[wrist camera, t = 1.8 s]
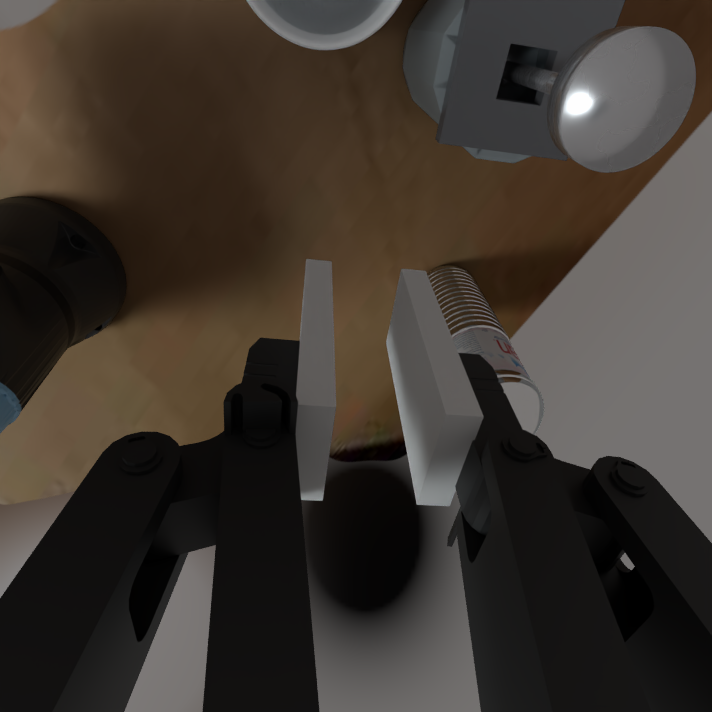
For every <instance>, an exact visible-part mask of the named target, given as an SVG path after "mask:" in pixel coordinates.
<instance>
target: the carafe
mask: <svg viewBox="0 0 712 712" xmlns="http://www.w3.org/2000/svg"><path fill="white" fill-rule="evenodd" d="M624 2H625V0H428V1H427V2H426V3H425V4H424V5H423V7H422V8H421V9H420V10H419V12H418V13H417V15H416V16H415V18H414V20H413V22H412V24H411V26H410V28H409V30H408V34H407V37H406V40H405V45H404V51H403V70H404V76H405V81H406V84H407V87H408V89H409V91H410V93H411V97H412V100H413V101H414V102H415V103H416V104H417V105H418V106H419V107H420V108H421V109H423V110H424V111H425V112H426V113H427V114H428V115H429V116H430V117H431V118H432V119H433V120H434V121H435V122H436V123H437V124H438V130H437V134H436V140H437V142H438V143H440V144H448V145H455V146H462V147H463V148H464V149H466V150H467V151H468V152H469V153H470V154H471V155H472V156H473V157H474V158H478V159H485V160H493V161H500V162H508V163H516V162H518V161H521V160H523V159H526V158H528V157H530V156H536V157H543V158H551V159H558V160H565V161H567V158H568V157H567V156H565V155H564V154H563V153H562V152H560V151H559V149H558V148H557V147H556V146H555V144H554V142H553V141H552V139H551V136H550V133H549V130H548V125H547V105H548V99H549V94H546V93H544V92H541V91H538V90H537V93H536V96H535V99H534V103H530V102H524V101H517V100H510V99H504V98H497V93H498V90H499V86H500V82H501V78H502V75H503V71H504V67H505V63H506V60H507V56H508V52H509V48H510V45H511V44H517V45H523V46H529V47H536V48H542V49H548V50H550V51H549V54H548V57H547V61H546V64H545V67H544V69H545V70H549V71H554V72H558V73H559V71H560V70H561V68H562V67H563V65H564V64H565V62H566V61H567V60H568V58H569V57H570V56H571V55H572V54H573V53H574V52H575V51H576V50H577V48H579V47H580V46H581V45H582V44H583V43H584V42H586V41H587V40H589V39H590V38H592V37H593V36H595V35H597V34H599V33H601V32H603V31H605V30H608V29H611V28H615V27H616V24H617V21H618V18H619V16H620V13H621V10H622V7H623V5H624Z"/></svg>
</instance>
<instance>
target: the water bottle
mask: <svg viewBox="0 0 712 712" xmlns="http://www.w3.org/2000/svg"><path fill="white" fill-rule="evenodd" d="M427 276H428V278H429V281H430V283H431V286H432V288H433V291H434V293H435V296H436V298H437V301H438V303H439V306H440V308H441V311H442V314H443V316H444V319H445V321H446V324H447V326H448V329H449V331H450V334H451V336H452V339H453V341H454V344H455V346H456V349H457V351H458V353H469V354H480V355H481V356H482V357H483V358H484V359H485V360H486V361H487V362H488V363H489V364H490V365H491V366H492V367H493V369H494V371H495V373H496V375H497V377H498V379H499V382H500V383H501V385H502V387H503V390H504V393H505V394H506V396H507V398H508V400H509V402H510V404H511V406H512V408H513V410H514V412H515V414H516V417H517V419H518V421H519V423H520V425H521V427H522V429H523V430H526V431H528V432H530V433H531V434H533V435H535V433H536V431H537V430H538V428H539V426H540V423H541V421H542V418H543V414H544V402H543V398H542V395H541V393H540V391H539V390H538V388H537V386H536V385H535V383H534V382H533V381H532V380H531V379H530V378H529V376H528V374H527V372H526V370H525V369H524V367H523V365H522V363H521V362H520V360H519V358H518V356H517V354H516V353H515V351H514V349H513V348H512V346H511V342H510V340H509V337H508V336H507V334H506V332H505V331H504V329H503V327H502V325H501V324H500V322H499V320H498V319H497V317H496V315H495V313H494V311H493V310H492V308H491V306H490V305H489V303H488V301H487V299H486V298H485V296H484V294H483V292H482V291H481V289H480V287H479V285H478V284H477V282H476V280H475V279H474V278H473V276H472V275H471V274H470V273H469V272H468V271H467V270H465V269H463V268H461V267H459V266H455V265H444V266H440V267H437V268H435V269H433V270H431V271H430V272H428V273H427Z"/></svg>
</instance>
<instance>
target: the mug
mask: <svg viewBox="0 0 712 712" xmlns="http://www.w3.org/2000/svg"><path fill="white" fill-rule="evenodd" d="M246 1H247V2H248V4H249V5H250V7H251V8H252V9H253V11H254V12H255V13H256V14H257V16H258V17H259V18H260V19H261V20H262V21H263V22H264V23H265V24H266V25H267V26H268V27H269V28H270V29H272V30H273V31H274V32H276V33H277V34H278V35H280V36H281V37H283V38H285V39H286V40H288V41H290V42H292V43H294V44H297V45H299V46H302V47H305V48H309V49H315V50H336V49H342V48H347V47H350V46H353V45H355V44H358V43H360V42H362V41H363V40H365V39H367V38H368V37H370V36H371V35H373V34H374V33H375V32H377V31H378V30H379V29H380V28H381V27H382V26H383V25H384V24H385V23H386V22H387V21H388V20H389V19H390V18H391V16H392V15H393V14H394V13H395V11H396V10H397V8H398V7H399V5H400V4H401V2H402V0H246Z"/></svg>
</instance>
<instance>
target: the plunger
mask: <svg viewBox="0 0 712 712" xmlns="http://www.w3.org/2000/svg"><path fill="white" fill-rule="evenodd" d="M549 51H550V50H548V49H542V48H536V47H529V46H523V45H517V44H511V45H510V48H509V52H508V56H507V60H506V63H505V67H504V71H503V75H502V78H501V82H500V86H499V90H498V93H497V98H504V99H510V100H517V101H524V102H530V103H534V99H535V96H536V93H537V90H538V91H541V92H544V93H546V94H549V99H548V105H547V125H548V130H549V133H550V136H551V139H552V141H553V142H554V144H555V146H556V147H557V148H558V149H559V151H560V152H562V153H563V154H564V155H565V156H567V157H569V158H570V159H572V160H574V161H575V162H577V163H579V164H581V165H582V166H584V167H586V168H588V169H591V170H593V171H598V172H607V173H609V172H618V171H623V170H626V169H629V168H632V167H634V166H636V165H638V164H640V163H642V162H644V161H646V160H647V159H649V158H650V157H652V156H653V155H654V154H656V153H657V152H658V151H659V150H660V149H661V148H662V147H663V146H664V145H665V144H666V143H667V142H668V141H669V140H670V139H671V138H672V136H673V135H674V134H675V133H676V131H677V130H678V128H679V127H680V125H681V124H682V122H683V120H684V118H685V116H686V115H687V112H688V110H689V107H690V105H691V102H692V99H693V95H694V90H695V83H696V68H695V63H694V58H693V56H692V53H691V50H690V49H689V47H688V45H687V44H686V43H685V41H684V40H683V39H682V38H681V37H680V36H678V35H677V34H676V33H674V32H672V31H670V30H668V29H664V28H661V27H650V26H619V27H615V28H611V29H608V30H605V31H603V32H601V33H599V34H597V35H595V36H593V37H592V38H590V39H589V40H587V41H586V42H584V43H583V44H582V45H581V46H580V47H579V48H577V50H576V51H575V52H574V53H573V54H572V55H571V56H570V57H569V58H568V60H567V61H566V62H565V64H564V65H563V67H562V68H561V70H560V71H559V73H558V72H554V71H549V70H545V69H544V67H545V64H546V61H547V57H548V54H549Z"/></svg>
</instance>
